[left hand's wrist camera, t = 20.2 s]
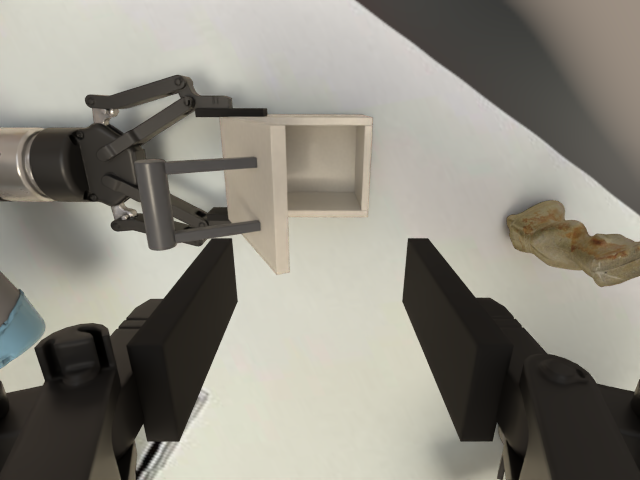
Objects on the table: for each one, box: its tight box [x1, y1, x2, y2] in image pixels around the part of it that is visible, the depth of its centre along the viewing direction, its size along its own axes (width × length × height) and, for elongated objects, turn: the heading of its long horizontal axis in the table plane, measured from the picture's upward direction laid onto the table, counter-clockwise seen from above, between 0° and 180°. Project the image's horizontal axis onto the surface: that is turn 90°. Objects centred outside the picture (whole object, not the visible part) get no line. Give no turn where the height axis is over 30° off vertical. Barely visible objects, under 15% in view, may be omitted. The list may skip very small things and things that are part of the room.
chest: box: [231, 114, 373, 217], centre depth 40 cm, size 14×10×9 cm
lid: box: [134, 117, 290, 275], centre depth 28 cm, size 14×10×8 cm
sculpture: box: [507, 200, 640, 287], centre depth 40 cm, size 6×7×15 cm
